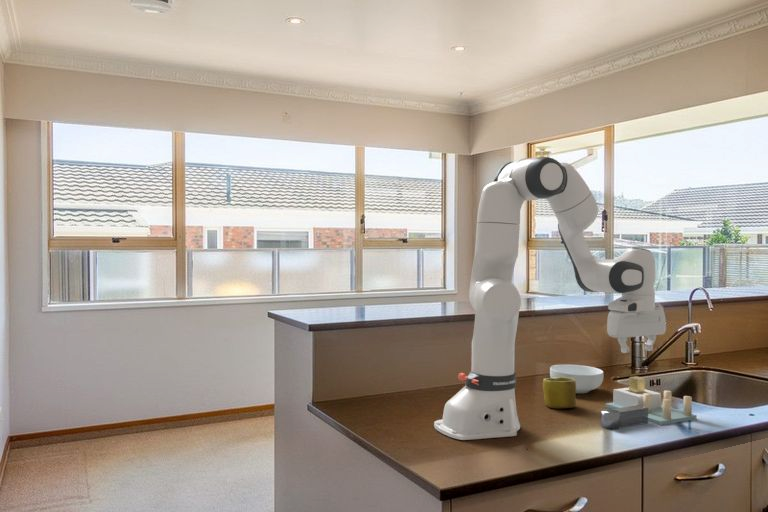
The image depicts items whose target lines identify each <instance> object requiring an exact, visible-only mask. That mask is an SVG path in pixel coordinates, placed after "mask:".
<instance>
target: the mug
mask: <svg viewBox="0 0 768 512" xmlns="http://www.w3.org/2000/svg"><path fill="white" fill-rule="evenodd" d="M542 390H543V397H544V404H545V405H546V407H548V408H550V409H558V410H559V409H571V408H574V409H575V408H576V405H577V404H576V403H577V401H576V394H577V393H576V381H575V379H572V378H563V377H560V378H556V377H552V378H551V377H545V378H543V380H542Z"/></svg>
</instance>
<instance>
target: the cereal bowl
mask: <svg viewBox="0 0 768 512" xmlns="http://www.w3.org/2000/svg"><path fill="white" fill-rule="evenodd" d="M552 377H556V378H560V377H563V378H572V379H575V381H576V394H587V393H589V392H590V391H592V390H596V389H598V388H599V387H600V386H601V385H602V383H603V381H604V371H603V370H602V369H600V368H597V367H593V366H590V365H589V366H588V365H581V364H566V363H565V364H554V365H551V366H550V367H549V378H552Z"/></svg>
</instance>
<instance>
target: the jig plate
mask: <svg viewBox="0 0 768 512" xmlns="http://www.w3.org/2000/svg"><path fill="white" fill-rule="evenodd" d="M672 394H673V393H672V391H671V390H663V399H662V393H660V392H657V391H653V390H651V389H650V390H649V389H646V388H645V393H642V394H635V393H632V392H629V386H628V387H623V388H621V387H620V388H614V389H613V391H612V398H613V401H612V402H607V403H605V405H604V406H605V407H604V408H606V409H616V408H623V407H629V406H636V405H641V406H644V407H647V408H648V423H649V422H650V423H653V424H655V425H657V426H665V425H670V424H675V423H682V422H687V421H693V420H697V418H698V417H697V416H698V415H697V414H693V411H692V409H693V408H692V403H693V402H692V401H693V397H692V396H690V395H684V396H683V407H682V408H683V409H682V410H680V409H677V408H673V407H672V397H673V396H672Z"/></svg>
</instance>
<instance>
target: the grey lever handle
mask: <svg viewBox="0 0 768 512" xmlns="http://www.w3.org/2000/svg"><path fill="white" fill-rule="evenodd" d="M648 423H649V421H648V408H647V407H644V406H641V405H636V406H629V407H623V408H616V409H610V408H604V409H601V410H600V427H601V428H604V429H605V430H606V429H607V430H619V429H620V428H625V427H630V426H636V425H643V424H648Z"/></svg>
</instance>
